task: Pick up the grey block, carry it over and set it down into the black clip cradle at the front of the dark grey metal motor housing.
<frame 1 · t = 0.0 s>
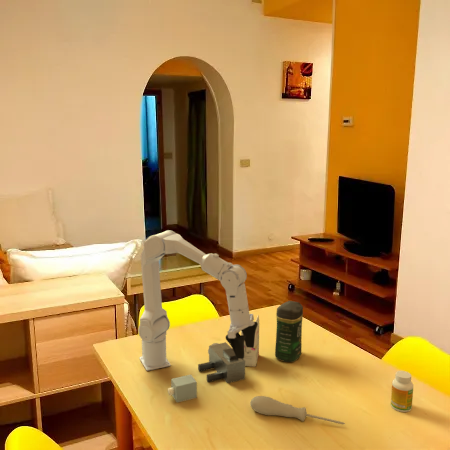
hand: (245, 352, 136), 11 cm above the table, tool pointing down, fingers open, 7 cm apart
supplement bottle: (400, 407, 127), on the table
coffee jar: (288, 356, 156), on the table
grey block: (184, 396, 132), on the table
screwdriver: (296, 419, 122), on the table
ink cartridge box: (250, 360, 153), on the table
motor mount: (217, 372, 145), on the table
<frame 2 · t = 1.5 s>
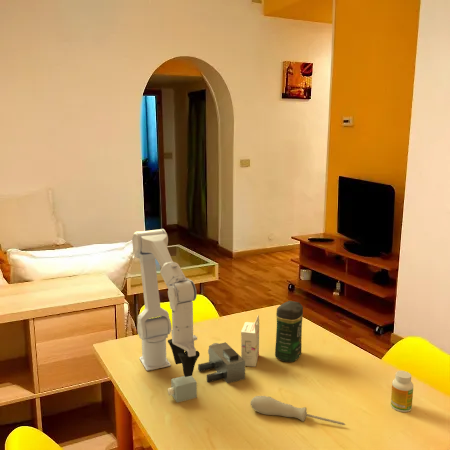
hand: (183, 369, 130), 8 cm above the table, tool pointing down, fingers open, 7 cm apart
nothing on the table moved.
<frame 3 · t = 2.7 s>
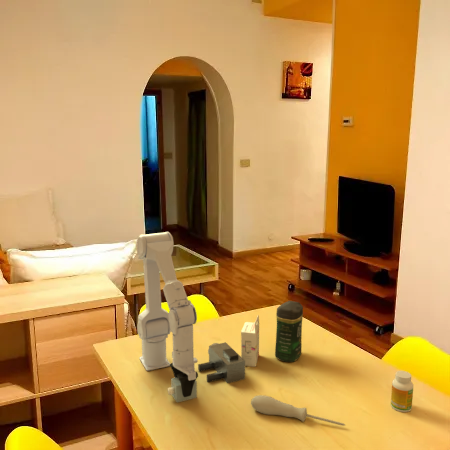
hand: (184, 391, 132), 1 cm above the table, tool pointing down, fingers closed on grey block, 4 cm apart
grey block: (184, 396, 132), on the table, touching gripper
everything else where it was.
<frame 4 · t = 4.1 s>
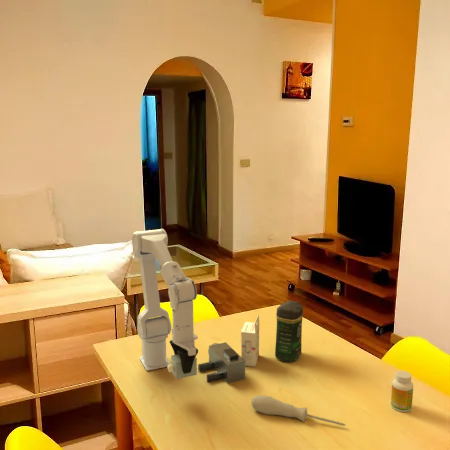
hand: (183, 368, 131), 8 cm above the table, tool pointing down, fingers closed on grey block, 4 cm apart
grey block: (184, 373, 131), point 7 cm above the table, touching gripper
everything else where it was.
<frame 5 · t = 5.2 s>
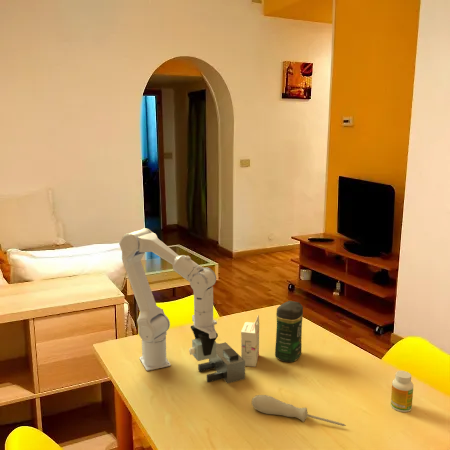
hand: (204, 351, 142), 8 cm above the table, tool pointing down, fingers closed on grey block, 4 cm apart
grey block: (204, 355, 142), point 7 cm above the table, touching gripper
everything else where it was.
when the fingers open (3 cm above the table, at t = 6.5 s): grey block drops 2 cm, on the table.
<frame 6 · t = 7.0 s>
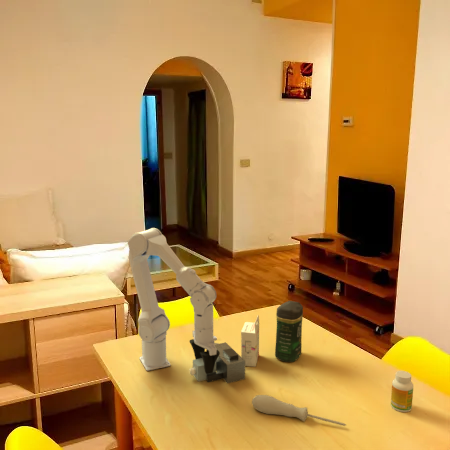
hand: (204, 367, 143), 3 cm above the table, tool pointing down, fingers open, 7 cm apart
grey block: (204, 376, 143), on the table
everything else where it was.
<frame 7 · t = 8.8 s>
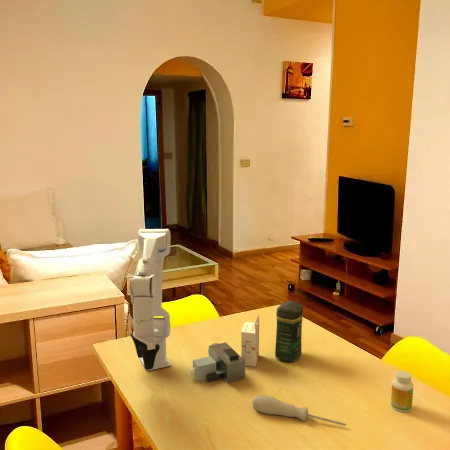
hand: (145, 362, 132), 9 cm above the table, tool pointing down, fingers open, 7 cm apart
nothing on the table moved.
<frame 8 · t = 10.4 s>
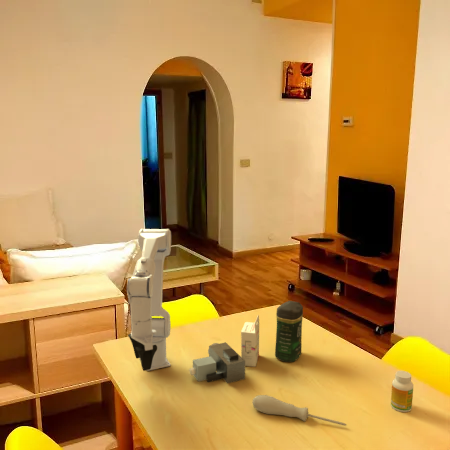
hand: (143, 363, 132), 9 cm above the table, tool pointing down, fingers open, 7 cm apart
nothing on the table moved.
at the end: grey block 0.2 cm from the target spot, on the table; grey block tilted 0°; the gripper is holding nothing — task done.
